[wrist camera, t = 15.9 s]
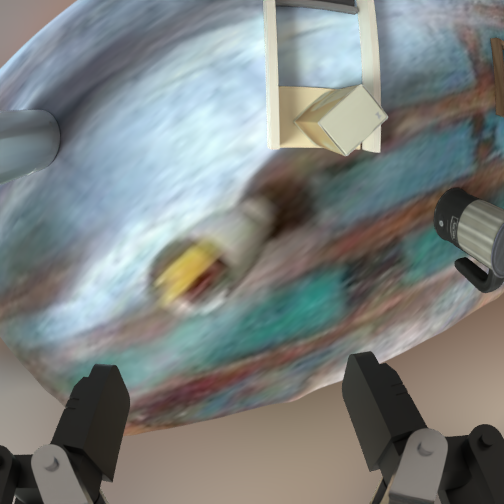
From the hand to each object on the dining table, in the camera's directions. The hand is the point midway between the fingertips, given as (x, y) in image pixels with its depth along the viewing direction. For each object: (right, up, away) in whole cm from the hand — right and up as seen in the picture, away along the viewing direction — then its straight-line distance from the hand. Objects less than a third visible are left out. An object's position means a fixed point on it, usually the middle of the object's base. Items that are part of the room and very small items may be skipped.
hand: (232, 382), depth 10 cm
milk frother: (+38, +11, +34) cm, 52 cm away
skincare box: (+9, +21, +26) cm, 35 cm away
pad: (+10, +22, +26) cm, 35 cm away
